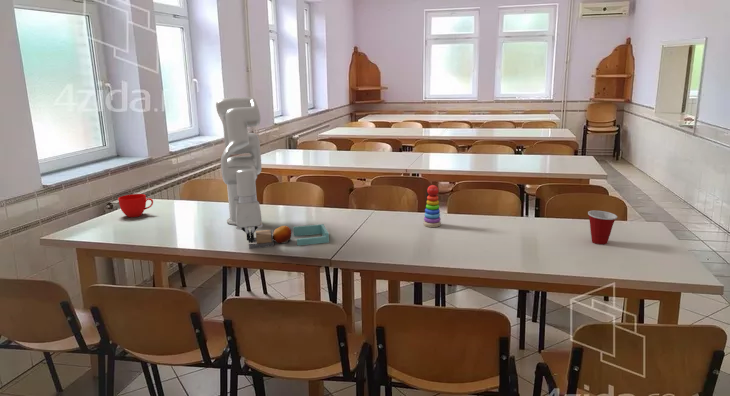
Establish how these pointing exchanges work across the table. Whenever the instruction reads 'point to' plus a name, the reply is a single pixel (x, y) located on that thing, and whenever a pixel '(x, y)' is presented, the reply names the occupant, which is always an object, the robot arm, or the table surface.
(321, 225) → the teal u-shaped frame
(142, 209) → the ceramic cup
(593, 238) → the plastic cup
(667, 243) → the table surface
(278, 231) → the fruit
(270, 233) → the block
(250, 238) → the launcher track
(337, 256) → the table surface
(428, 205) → the stacking toy
